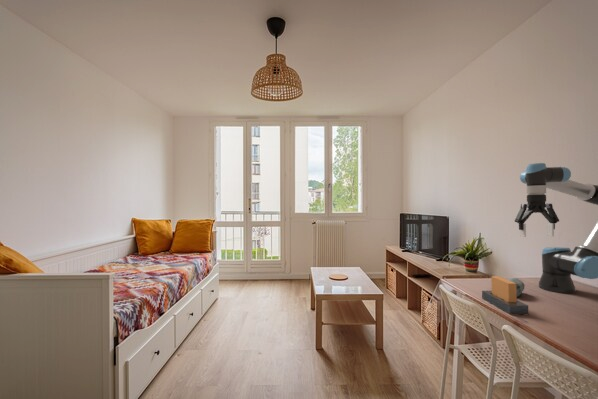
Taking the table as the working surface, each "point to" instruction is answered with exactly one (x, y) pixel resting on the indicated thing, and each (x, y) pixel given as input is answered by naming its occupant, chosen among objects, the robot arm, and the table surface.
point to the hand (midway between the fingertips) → (536, 236)
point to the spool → (518, 285)
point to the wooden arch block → (504, 289)
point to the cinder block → (505, 304)
